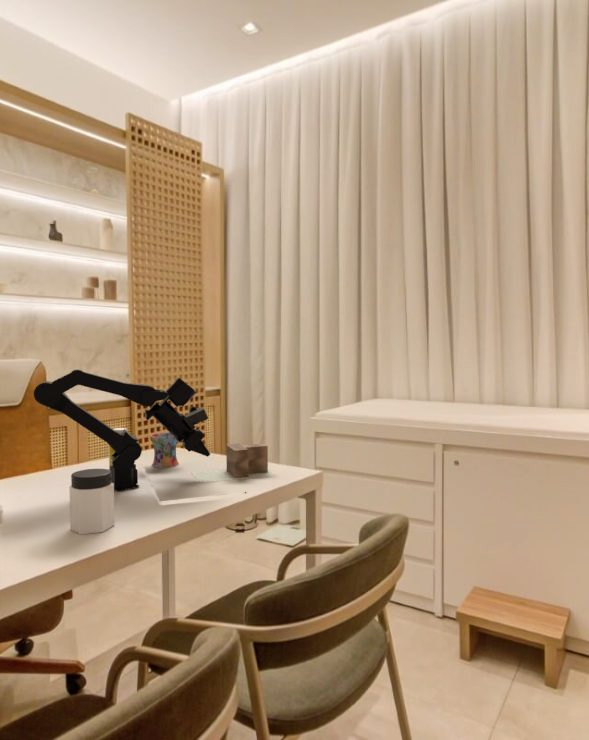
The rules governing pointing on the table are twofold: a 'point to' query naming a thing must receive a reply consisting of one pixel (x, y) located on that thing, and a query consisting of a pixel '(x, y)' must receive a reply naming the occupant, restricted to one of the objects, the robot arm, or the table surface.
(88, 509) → the jar
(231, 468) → the t block
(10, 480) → the table surface
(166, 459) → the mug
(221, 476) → the board
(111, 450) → the supplement bottle
